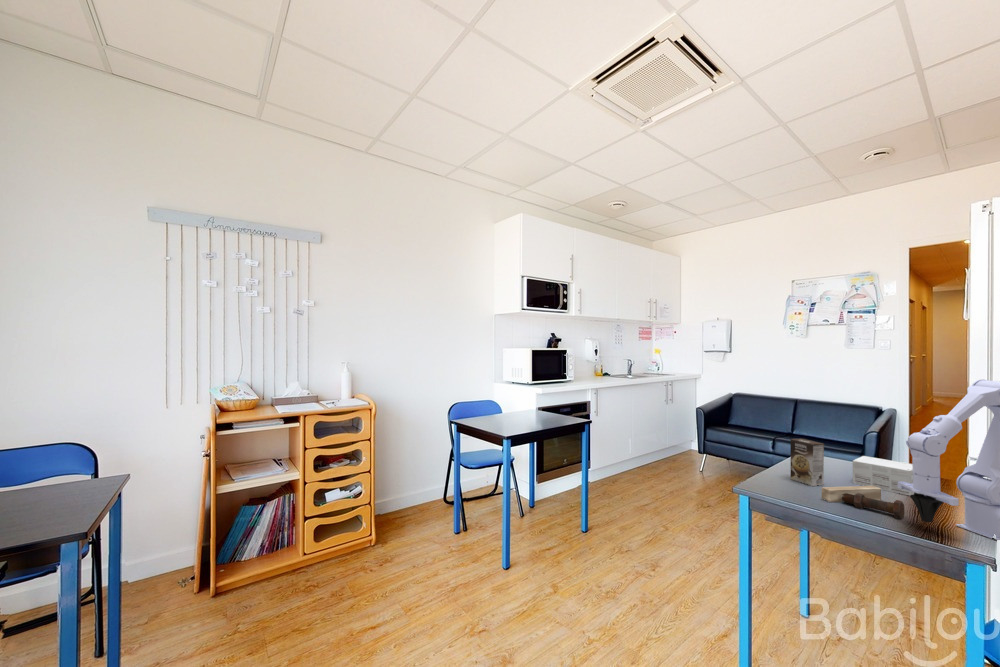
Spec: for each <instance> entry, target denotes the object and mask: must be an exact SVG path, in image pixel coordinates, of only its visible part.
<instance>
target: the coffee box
mask: <svg viewBox="0 0 1000 667" xmlns="http://www.w3.org/2000/svg"><path fill="white" fill-rule="evenodd" d="M824 453H825V443H822V442H818V441H814V440H809V439H806V438H790V480H792V481H795V482H798V481H799V482H798V483H801V482H802V483H801V484H804V483H805V484H804V485H807V484H808V486H810V485H811V487H817V485H819V486H824V483H825V482H824V481H825V480H824V478H825V477H824V471H825V470H824V464H825V462H824V459H825V457H824V456H825V454H824Z"/></svg>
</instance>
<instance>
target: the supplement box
mask: <svg viewBox="0 0 1000 667" xmlns="http://www.w3.org/2000/svg"><path fill="white" fill-rule="evenodd" d="M898 482H906V483H910V484H913V467H912V463H909V462H908V463H907V462H903V461H902V462H901V461H897V460H890V459H884V458H878V457H872V456H867V455H861V456H860V457H858V458H855V459H853V460H852V484H854V485H858V484H859V485H858V486H863V485H864V486H875V487H878V488H881V489H882V490H881V491H885V490H886V491H887V492H890V493H894V492H895V494H899V493H900V494H899V495H904V496H909V497H910V495H914V492H911V491H908V490H905V489H900V488H898Z"/></svg>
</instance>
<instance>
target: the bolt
mask: <svg viewBox="0 0 1000 667" xmlns="http://www.w3.org/2000/svg"><path fill="white" fill-rule="evenodd" d="M842 495H843V496H842V500H843V501H844V503H846V504H850V505H854V507H855V508H857V507H858V508H857V509H861V508H862V509H865V508H867V509H871V510H876V511H880V512H884V513H888V514H892V515H893V517H894V518H895V519H899V520H902V519H904V517H905V504H904V502H903V501H902V500H898V499H896V500H894V501H893V502H891V501H885V500H875V499H871V498H867V497H865V496H864V495H863V494H860V493H857V494H855V495H852V494H848V493H844V494H842Z"/></svg>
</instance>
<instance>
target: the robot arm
mask: <svg viewBox="0 0 1000 667" xmlns="http://www.w3.org/2000/svg"><path fill="white" fill-rule="evenodd" d="M966 392H967V393H966V394H965V396H964V397H962V399H961V400H960V401H959V402H958V403H957V404H956V405H955V406H954V407H953V408H952V409H951V410H950V411H949V412H948V414H940V415H936V416H934V417H933V418H932V421H931V422H930V423H929V424H927V425H926V426H925V427H924V428H922V429H921V430H920V431H919V432H917V431H916V432H913V433H912V434H910V435H909V436H908V438H907V440H905V444H906V447H907V448H908V449H909V450H910V454H911V457H912V458H911V459H912V461H911V462H912V463H911V464H912V467H913V484H910V483H906V482H898V488H900V489H905V490H908V491H911V492H914V494H913V495H910V496H909V497H910V498H911V500H912V501H913V503H914V505H915V506H916V508H917V511H918V513H919V516H920V519H921V522H925V523H933V521H934V517H935V516H936V513H937V511H938V509H939V508H940V507H941V506H942V505H943V504H944V503H945V504H948V505H949V506H953V507H954V506H955V507H956V506H959V505H960V502H959V501H960V498H958V497H956V496H953V495H949V494H948V493H946V492H943V491H941V458H940V457H941V455H942V454H944V453H945V452H946V451H947V445H948V444H949V442H950V440H951V439H952V438H954V437H955V436H956V435H957V434H959V432H960V431H962V430H963V425H962V423H963V422H965V421H966V420H968V419H969V418H970V417H972V416H973V415H974V414H976V413H977V412H978V411H980V410H981V409H982V408H984V407H986V408H987V409H989V411H991V413H992V414H993V416H992V419H991V421H990V425H989V427H988V430H987V432H986V435H985V437H984V440H983V443H982V446H981V448H980V451H979V453H978V456H977V459H976V461H975V463H974V464H971V465H969V466H965V468H964V470H963V472H962V473H961V474H960V475H958V477H957V478H956V487H957V489H958V490H959V491H960V492H961V493H962V497H964V523H956V525H955V526H956V527H959V528H961V529H965V530H967V531H969V532H972V533H974V534H977V535H981V536H984V537H986V538H988V539H992V538H993V536H994V534H995V535H996V540H995V541H1000V381H998V380H987V379H976V380H975V381H973V383H972V384H971V385H970V386H968V387H967V391H966ZM992 540H993V539H992Z"/></svg>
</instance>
